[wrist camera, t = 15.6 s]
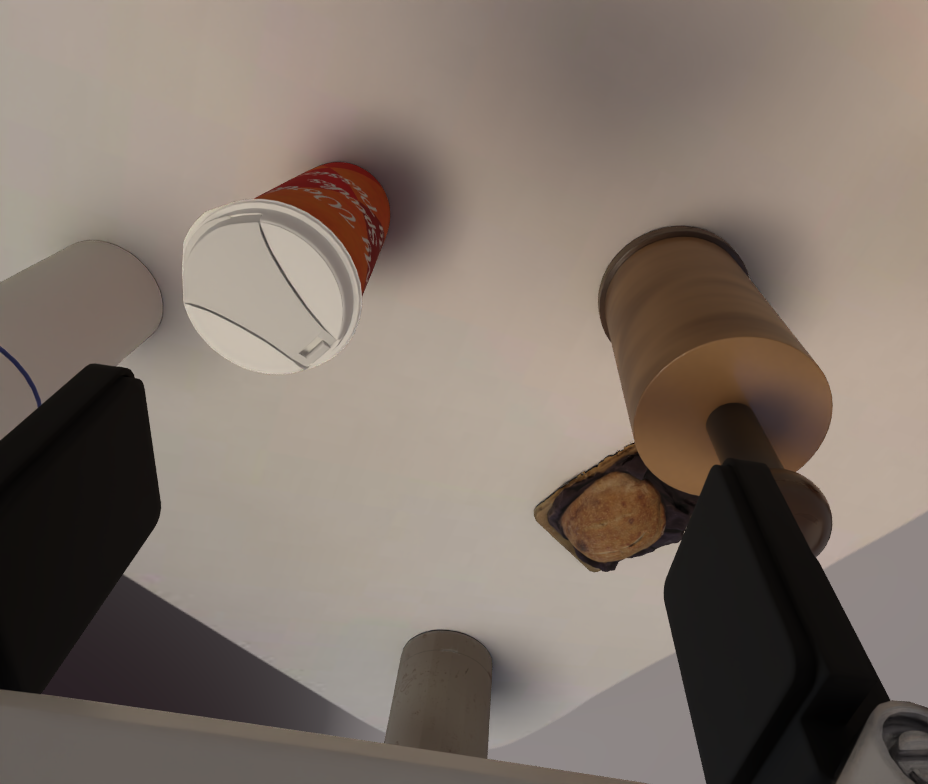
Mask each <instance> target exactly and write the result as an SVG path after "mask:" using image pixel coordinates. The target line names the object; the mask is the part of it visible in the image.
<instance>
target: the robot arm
mask: <svg viewBox="0 0 928 784" xmlns="http://www.w3.org/2000/svg"><path fill="white" fill-rule="evenodd" d="M160 511H161V501H160V494H159V487H158V480H157V473H156V466H155V459H154V452H153V445H152V438H151V431H150V424H149V417H148V410H147V403H146V396H145V389H144V385H143V382H142V381H141V380H140V379H137V378H135V377H134V374H133V373H132V371H131V370H130V369H128V368H123V367H116V366H109V365H103V364H96V363H93V364H89V365H87V366H85V367H84V368H83V369H82V370H81V371H80V372H79V373H77V374H76V375H75V376H74V377H73V378H72V379H71V380H69V381H68V382H67V383H66V384H65V385H64V386H62V387H61V388H60V389H59V390H58V391H57V392H56V393H54V394H53V395H52V396H51V397H50V398H49V399H47V400H46V401H45V402H44V403H43V404H42V405H41V406H39V407H38V408H37V409H36V410H35V411H34V412H32V413H31V414H30V415H29V416H28V417H27V418H26V419H24V420H23V421H22V422H21V423H20V424H19V425H17V426H16V427H15V428H14V429H13V430H12V431H11V432H9V433H8V434H7V435H6V436H5V437H4V438H2V439H1V440H0V784H647V783H641V782H635V781H629V780H622V779H616V778H609V777H603V776H596V775H589V774H583V773H577V772H570V771H563V770H557V769H551V768H544V767H537V766H530V765H524V764H518V763H511V762H505V761H498V760H492V759H485V758H479V757H472V756H465V755H459V754H452V753H446V752H439V751H432V750H425V749H419V748H412V747H405V746H398V745H392V744H385V743H377V742H371V741H365V740H358V739H351V738H344V737H337V736H330V735H324V734H317V733H310V732H303V731H296V730H290V729H282V728H275V727H269V726H262V725H255V724H248V723H241V722H235V721H228V720H221V719H214V718H206V717H199V716H193V715H185V714H178V713H171V712H164V711H157V710H150V709H143V708H136V707H129V706H121V705H115V704H108V703H101V702H94V701H87V700H79V699H73V698H72V699H71V698H65V697H58V696H50V695H42V694H41V693H42V692H43V690H44V689H45V687H46V686H47V685H48V683H49V682H50V680H51V679H52V677H53V676H54V674H55V672H56V671H57V670H58V668H59V667H60V666H61V664H62V663H63V661H64V659H65V658H66V657H67V655H68V654H69V652H70V651H71V649H72V648H73V646H74V645H75V643H76V642H77V641H78V639H79V638H80V636H81V635H82V633H83V632H84V630H85V629H86V627H87V626H88V624H89V623H90V621H91V620H92V619H93V617H94V615H95V614H96V613H97V611H98V610H99V608H100V607H101V605H102V604H103V602H104V601H105V599H106V598H107V597H108V595H109V594H110V592H111V591H112V589H113V588H114V586H115V585H116V583H117V582H118V580H119V579H120V577H121V576H122V575H123V573H124V572H125V570H126V569H127V567H128V566H129V564H130V563H131V561H132V560H133V558H134V557H135V555H136V554H137V553H138V551H139V550H140V548H141V547H142V545H143V544H144V542H145V541H146V539H147V538H148V536H149V535H150V533H151V532H152V531H153V529H154V528H155V526H156V524H157V522H158V519H159V516H160ZM664 602H665V606H666V611H667V615H668V619H669V624H670V628H671V632H672V637H673V641H674V645H675V650H676V654H677V658H678V662H679V667H680V671H681V676H682V680H683V684H684V689H685V693H686V697H687V702H688V706H689V710H690V715H691V719H692V723H693V727H694V732H695V736H696V741H697V745H698V749H699V754H700V758H701V762H702V767H703V771H704V775H705V780H706V784H928V708H927V707H924V706H921V705H918V704H915V703H911V702H905V701H893V700H892V701H890V699H889V697H888V695H887V693H886V691H885V689H884V687H883V685H882V683H881V681H880V679H879V677H878V676H877V674H876V672H875V670H874V668H873V666H872V664H871V662H870V660H869V658H868V656H867V654H866V652H865V650H864V648H863V646H862V645H861V642H860V641H859V639H858V637H857V635H856V633H855V631H854V629H853V627H852V625H851V623H850V621H849V619H848V617H847V615H846V614H845V611H844V610H843V608H842V606H841V604H840V602H839V600H838V598H837V596H836V594H835V592H834V590H833V588H832V586H831V584H830V582H829V580H828V579H827V577H826V575H825V573H824V571H823V569H822V567H821V565H820V563H819V561H818V560H817V558H816V557H815V556H814V554H813V553H812V551H811V549H810V547H809V545H808V543H807V541H806V539H805V537H804V535H803V533H802V532H801V530H800V528H799V526H798V524H797V522H796V520H795V518H794V516H793V514H792V512H791V510H790V508H789V506H788V504H787V502H786V500H785V498H784V496H783V494H782V493H781V491H780V489H779V487H778V485H777V483H776V481H775V479H774V477H773V475H772V473H771V471H770V469H769V467H768V466H767V465H766V464H765V463H763V462H756V461H750V460H743V459H736V458H727V459H726V460H725V461H724V462H723V463H722V465H713V466H712V467H711V469H710V471H709V473H708V476H707V478H706V481H705V483H704V486H703V488H702V491H701V493H700V496H699V498H698V501H697V503H696V506H695V508H694V510H693V513H692V515H691V518H690V520H689V523H688V525H687V528H686V530H685V533H684V535H683V538H682V540H681V543H680V545H679V548H678V550H677V553H676V555H675V558H674V560H673V562H672V565H671V567H670V570H669V572H668V575H667V577H666V580H665V585H664Z"/></svg>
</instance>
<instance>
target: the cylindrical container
mask: <svg viewBox="0 0 928 784" xmlns="http://www.w3.org/2000/svg"><path fill="white" fill-rule="evenodd" d="M162 313H163V302H162V297H161V293H160V290H159V288H158V285H157V283H156V281H155V279H154V278H153V276H152V275H151V273H150V272H149V270H148V269H147V268H146V267H145V266H144V265H143V264H142V263H141V262H140V261H139V260H138V259H137V258H136V257H134V256H133V255H132V254H131V253H129V252H127V251H126V250H124V249H122V248H120V247H118V246H116V245H113V244H111V243H107V242H102V241H92V240H87V241H82V242H77V243H75V244H73V245H71V246H69V247H67V248H65V249H63V250H61V251H59V252H57V253H55V254H53V255H51V256H50V257H48V258H46V259H44V260H42V261H40V262H38V263H36V264H34V265H32V266H30V267H29V268H27V269H25V270H23V271H21V272H19V273H17V274H15V275H13V276H11V277H9V278H7V279H6V280H4V281H2V282H0V440H1V439H2V438H4V437H5V436H6V435H7V434H8V433H9V432H11V431H12V430H13V429H14V428H15V427H16V426H17V425H19V424H20V423H21V422H22V421H23V420H24V419H26V418H27V417H28V416H29V415H30V414H31V413H32V412H34V411H35V410H36V409H37V408H38V407H39V406H41V405H42V404H43V403H44V402H45V401H46V400H47V399H49V398H50V397H51V396H52V395H53V394H54V393H56V392H57V391H58V390H59V389H60V388H61V387H62V386H64V385H65V384H66V383H67V382H68V381H69V380H71V379H72V378H73V377H74V376H75V375H76V374H77V373H79V372H80V371H81V370H82V369H83V368H84V367H85V366H87V365H89V364H93V363H96V364H103V365H109V366H116V365H118V364H119V363H120V362H121V361H122V360H123V359H124V358H126V357H127V356H128V355H129V354H130V353H131V352H132V351H134V350H135V349H136V348H137V347H138V346H139V345H140V344H141V343H143V342H144V341H145V340H146V339H147V338H148V337H149V336H151V335H152V334H153V333H154V331H155V330H156V329H157V328H158V326H159V324H160V321H161V318H162Z"/></svg>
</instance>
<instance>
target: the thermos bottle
mask: <svg viewBox="0 0 928 784" xmlns="http://www.w3.org/2000/svg"><path fill="white" fill-rule="evenodd" d="M491 683H492V659H491V657H490V655H489V652H488V651H487V650H486V648H485V647H484V646H483V645H482V644H480V643H479V642H478V641H476V640H475V639H473V638H471V637H469V636H467V635H464V634H461V633H457V632H453V631H431V632H426V633H423V634H420V635H418V636H416V637H414V638H413V639H412V640H410V641H409V642H408V643H407V645H406V646H405V647H404V649H403V652H402V655H401V660H400V665H399V670H398V675H397V680H396V685H395V690H394V695H393V700H392V705H391V710H390V716H389V721H388V726H387V731H386V736H385V741H384V743H385V744H392V745H398V746H405V747H412V748H419V749H425V750H432V751H439V752H446V753H452V754H459V755H465V756H472V757H479V758H485V759H487V754H488V737H489V719H490V701H491Z"/></svg>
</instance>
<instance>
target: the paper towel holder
mask: <svg viewBox="0 0 928 784" xmlns="http://www.w3.org/2000/svg"><path fill="white" fill-rule="evenodd" d="M598 308H599V315H600V319H601V323H602V326H603V329H604V331H605V334H606V335H607V337H608V339H609V340H610V342H611V343H612V347H613V352H614V356H615V360H616V364H617V369H618V373H619V377H620V381H621V386H622V390H623V394H624V398H625V403H626V407H627V411H628V415H629V420H630V424H631V428H632V432H633V437H634V441H635V445H636V448H637V451H638V453H639V455H640V457H641V459H642V460H643V462H644V464H645V465H646V466H647V467H648V469H649V470H650V471H651V472H652V473H653V474H654V475H655V476H657V477H658V478H659V479H660V480H662V481H663V482H665V483H666V484H668V485H669V486H671V487H673V488H676V489H678V490H680V491H683V492H686V493H689V494H693V495H698V496H700V493H701V491H702V488H703V486H704V483H705V481H706V478H707V476H708V473H709V471H710V469H711V467H712V466H713V465H722V463H723V462H724V461H725V460H726V459H727V458H736V459H743V460H750V461H756V462H763V463H765V464H766V465H767V466H768V467H769V469H770V471H771V473H772V475H773V477H774V479H775V481H776V483H777V485H778V487H779V489H780V491H781V493H782V494H783V496H784V498H785V500H786V502H787V504H788V506H789V508H790V510H791V512H792V514H793V516H794V518H795V520H796V522H797V524H798V526H799V528H800V530H801V532H802V533H803V535H804V537H805V539H806V541H807V543H808V545H809V547H810V549H811V551H812V553H813V554H814V556H815V557H817V556H818V555H819V554H820V553H821V552H822V550H823V549H824V548H825V546H826V545H827V543H828V540H829V538H830V535H831V531H832V514H831V510H830V506H829V504H828V502H827V500H826V498H825V496H824V495H823V493H822V492H821V491H820V489H819V488H818V487H817V486H816V485H815V484H814V483H813V482H812V481H810V480H809V479H807V478H806V477H804V476H803V475H801V474H799V473H796V471H798V470H799V469H800V468H801V467H803V466H804V465H805V464H806V463H807V462H808V461H809V460H810V459H811V457H812V456H813V455H814V454H815V452H816V451H817V450H818V449H819V447H820V445H821V443H822V442H823V440H824V438H825V436H826V434H827V431H828V429H829V425H830V422H831V418H832V407H833V405H832V394H831V390H830V386H829V384H828V381H827V379H826V377H825V375H824V373H823V372H822V371H821V369H820V368H819V366H818V365H817V364H816V362H815V361H814V360H813V359H812V357H811V356H810V355H809V353H808V352H807V351H806V350H805V348H804V347H803V346H802V345H801V343H800V342H799V341H798V340H797V338H796V337H795V336H794V334H793V333H792V332H791V331H790V329H789V328H788V327H787V326H786V324H785V323H784V322H783V321H782V319H781V318H780V317H779V315H778V314H777V313H776V312H775V310H774V309H773V308H772V307H771V305H770V304H769V303H768V302H767V300H766V299H765V298H764V296H763V295H762V294H761V293H760V291H759V290H758V289H757V288H756V286H755V285H754V284H753V283H752V281H751V280H750V279H749V276H748V272H747V269H746V267H745V265H744V263H743V261H742V260H741V258H740V257H739V255H738V254H737V253H736V252H735V250H734V249H733V248H732V247H731V246H730V245H729V244H728V243H727V242H726V241H724V240H723V239H722V238H720V237H719V236H717V235H715V234H713V233H711V232H709V231H706V230H704V229H700V228H695V227H687V226H673V227H666V228H661V229H658V230H654V231H651V232H649V233H647V234H644V235H642V236H640V237H639V238H637V239H635V240H634V241H632V242H631V243H629V244H628V245H627V246H625V247H624V248H623V249H622V250H621V251H620V252H619V253H618V254H617V255H616V257H615V258H614V259H613V260H612V262H611V263H610V265H609V266H608V268H607V269H606V272H605V274H604V276H603V278H602V281H601V284H600V288H599V294H598Z"/></svg>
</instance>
